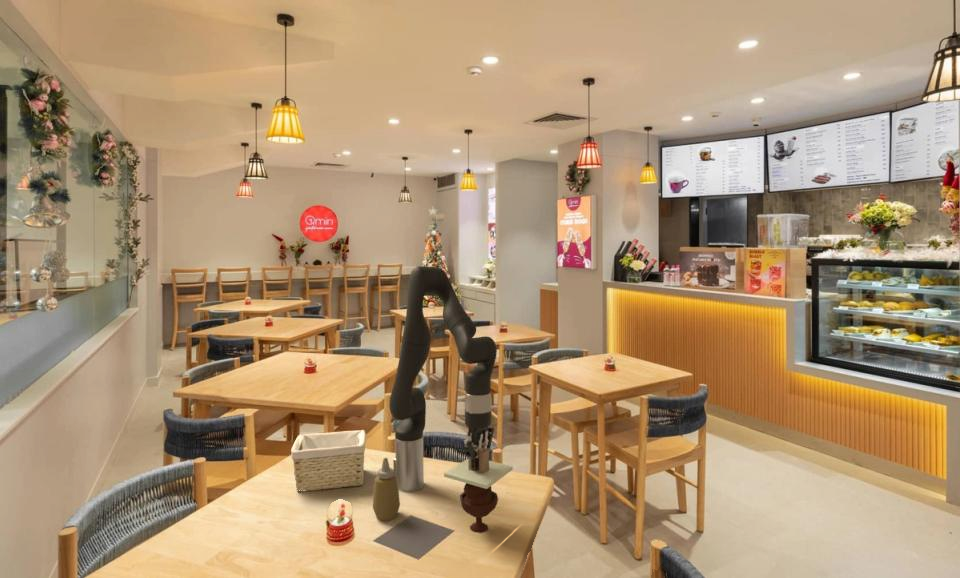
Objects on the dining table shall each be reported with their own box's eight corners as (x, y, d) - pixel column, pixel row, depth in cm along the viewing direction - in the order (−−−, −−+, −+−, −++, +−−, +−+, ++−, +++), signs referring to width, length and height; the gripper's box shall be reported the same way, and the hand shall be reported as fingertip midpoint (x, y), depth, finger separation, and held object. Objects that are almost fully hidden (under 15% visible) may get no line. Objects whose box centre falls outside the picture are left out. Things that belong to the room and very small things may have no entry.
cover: (444, 476, 145) (443, 452, 144) (471, 459, 156) (471, 436, 156) (486, 489, 137) (486, 463, 137) (512, 469, 149) (512, 446, 148)
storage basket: (291, 494, 170) (289, 450, 168) (298, 473, 186) (297, 433, 184) (365, 488, 174) (364, 445, 173) (367, 468, 190) (366, 428, 189)
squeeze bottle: (405, 512, 157) (404, 455, 156) (392, 526, 150) (390, 465, 148) (381, 508, 160) (380, 451, 159) (367, 521, 152) (366, 462, 151)
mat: (372, 542, 142) (372, 540, 142) (410, 516, 155) (410, 515, 155) (418, 560, 133) (418, 559, 133) (454, 532, 147) (454, 530, 146)
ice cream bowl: (495, 541, 142) (494, 488, 141) (455, 537, 144) (454, 484, 143) (501, 521, 152) (501, 471, 151) (464, 517, 154) (463, 468, 153)
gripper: (480, 399, 153) (480, 456, 155) (452, 412, 141) (453, 473, 143) (502, 403, 149) (502, 462, 151) (475, 417, 137) (476, 480, 139)
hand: (478, 467), depth 147 cm, fingers closed on cover, 3 cm apart
